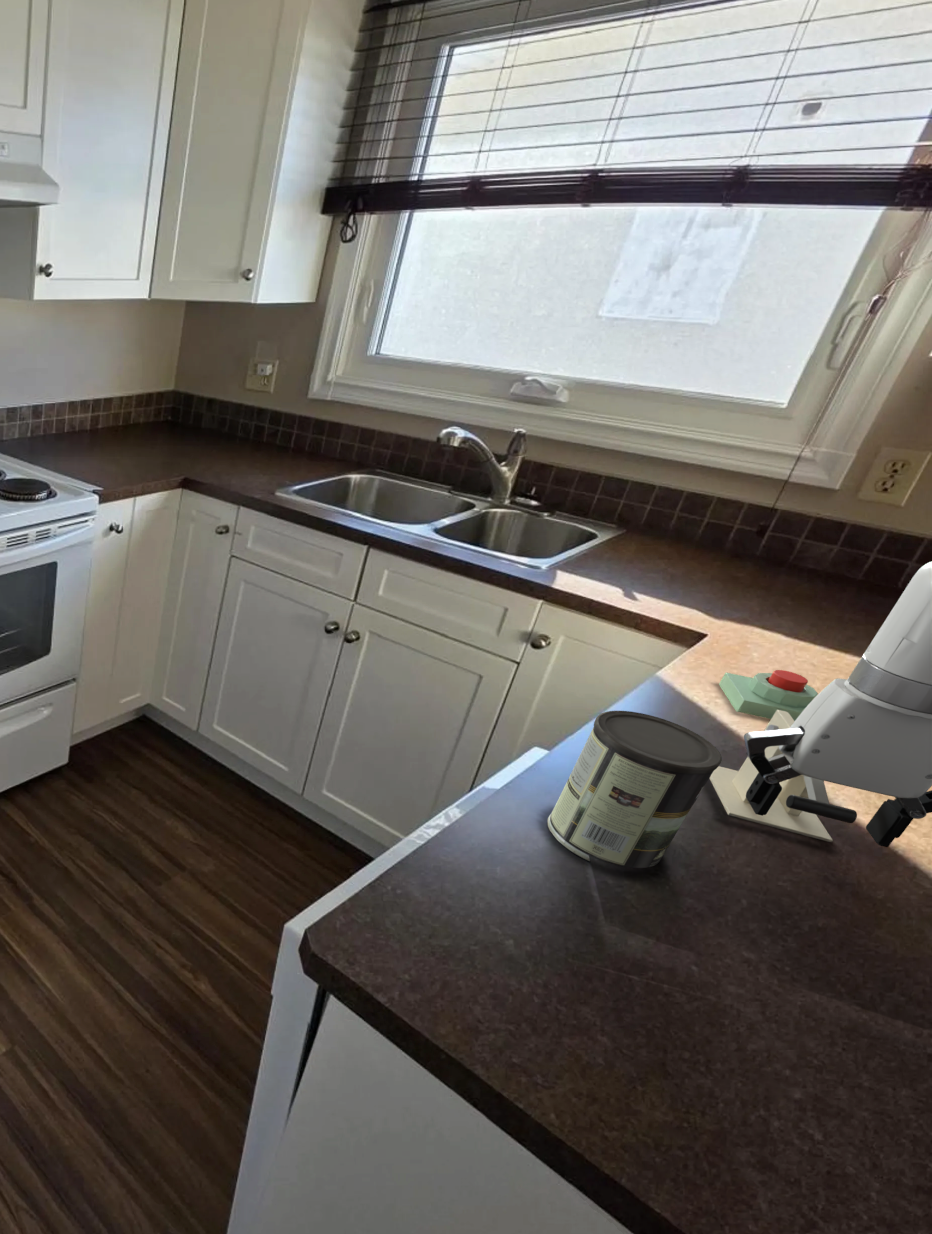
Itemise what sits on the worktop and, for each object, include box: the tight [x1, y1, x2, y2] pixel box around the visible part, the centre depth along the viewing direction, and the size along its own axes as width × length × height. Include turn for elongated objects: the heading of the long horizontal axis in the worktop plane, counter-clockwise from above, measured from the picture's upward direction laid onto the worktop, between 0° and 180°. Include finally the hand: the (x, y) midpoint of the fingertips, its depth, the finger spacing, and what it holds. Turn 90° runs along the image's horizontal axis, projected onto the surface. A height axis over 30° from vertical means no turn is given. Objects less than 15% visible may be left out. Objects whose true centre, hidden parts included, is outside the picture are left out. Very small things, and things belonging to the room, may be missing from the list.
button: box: [768, 669, 809, 692], centre depth 110 cm, size 4×4×2 cm
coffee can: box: [547, 710, 723, 869], centre depth 83 cm, size 10×10×14 cm
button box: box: [718, 672, 819, 721], centre depth 111 cm, size 10×9×4 cm
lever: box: [786, 776, 858, 824], centre depth 85 cm, size 12×5×2 cm, turn 151°
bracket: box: [709, 710, 834, 843], centre depth 89 cm, size 11×9×12 cm
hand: (814, 822), depth 83 cm, fingers open, 9 cm apart
